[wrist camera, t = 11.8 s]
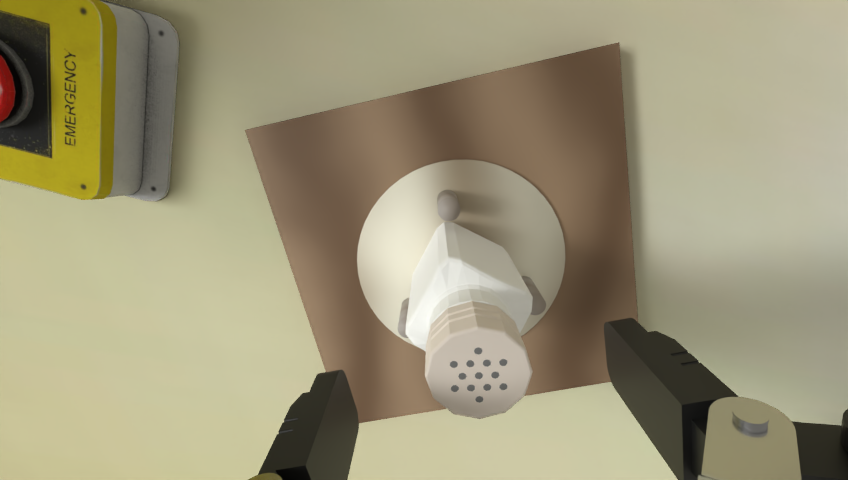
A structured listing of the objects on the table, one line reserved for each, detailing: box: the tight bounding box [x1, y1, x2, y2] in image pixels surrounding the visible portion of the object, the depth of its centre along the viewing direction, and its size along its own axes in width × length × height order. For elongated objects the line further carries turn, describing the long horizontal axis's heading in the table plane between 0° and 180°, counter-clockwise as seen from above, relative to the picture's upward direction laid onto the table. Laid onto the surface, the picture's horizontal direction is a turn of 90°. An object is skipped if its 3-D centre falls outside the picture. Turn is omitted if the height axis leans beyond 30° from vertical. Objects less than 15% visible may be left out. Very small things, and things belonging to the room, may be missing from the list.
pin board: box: [245, 43, 638, 423], centre depth 20 cm, size 18×18×4 cm
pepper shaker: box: [406, 222, 533, 419], centre depth 16 cm, size 4×4×10 cm
